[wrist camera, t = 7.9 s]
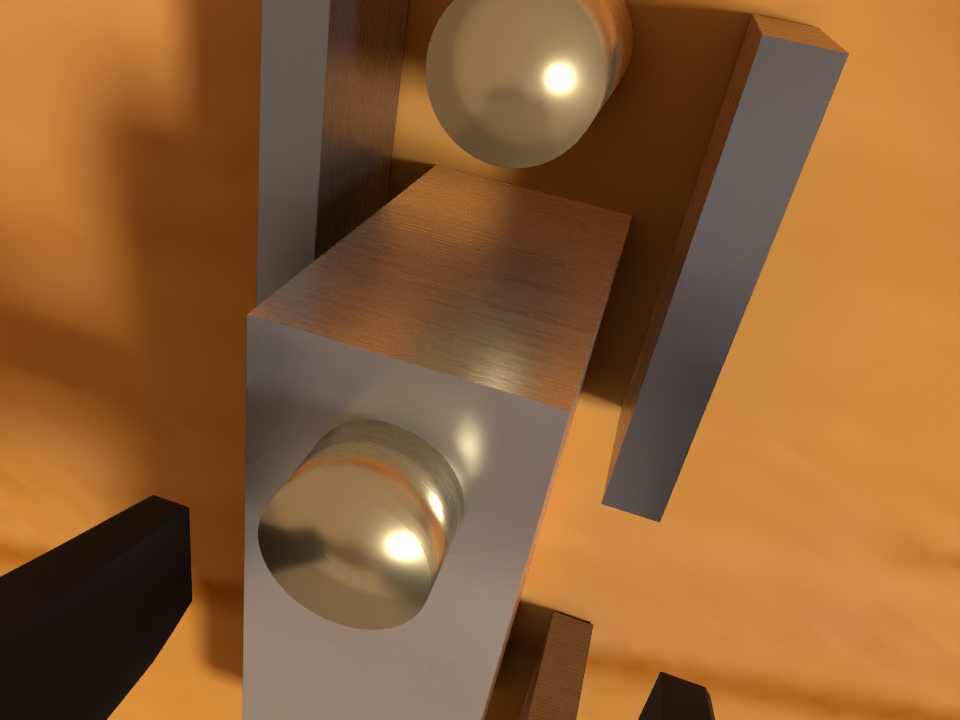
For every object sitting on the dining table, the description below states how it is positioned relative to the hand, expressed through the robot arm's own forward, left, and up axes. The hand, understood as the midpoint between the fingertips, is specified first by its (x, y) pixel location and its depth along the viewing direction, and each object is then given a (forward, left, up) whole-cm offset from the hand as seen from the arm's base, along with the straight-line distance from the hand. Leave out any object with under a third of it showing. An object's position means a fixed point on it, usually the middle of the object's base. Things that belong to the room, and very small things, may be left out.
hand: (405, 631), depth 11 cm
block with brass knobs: (0, 0, -4) cm, 4 cm away
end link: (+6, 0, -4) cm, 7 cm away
